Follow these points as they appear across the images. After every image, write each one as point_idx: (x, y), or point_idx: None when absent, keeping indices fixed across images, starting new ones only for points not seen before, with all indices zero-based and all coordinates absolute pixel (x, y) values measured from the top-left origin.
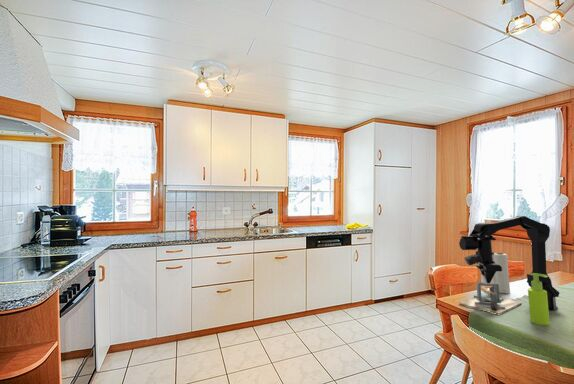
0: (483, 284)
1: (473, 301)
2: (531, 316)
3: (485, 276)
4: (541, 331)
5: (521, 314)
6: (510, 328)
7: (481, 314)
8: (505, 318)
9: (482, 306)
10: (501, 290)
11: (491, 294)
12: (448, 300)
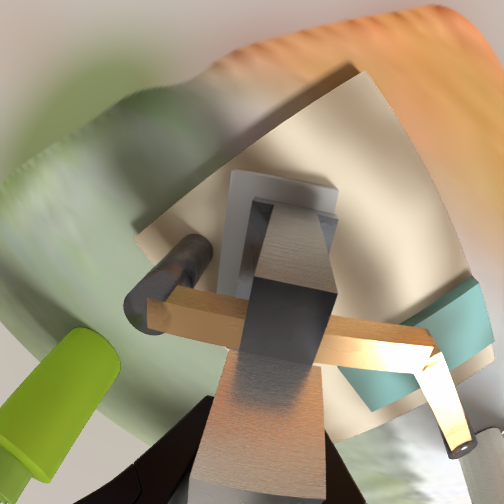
0: (242, 343)
1: (392, 213)
2: (72, 342)
3: (171, 472)
4: (14, 286)
5: (178, 359)
6: (8, 186)
7: (150, 131)
8: (103, 241)
9: (229, 192)
10: (477, 444)
11: (132, 289)
12: (458, 63)
